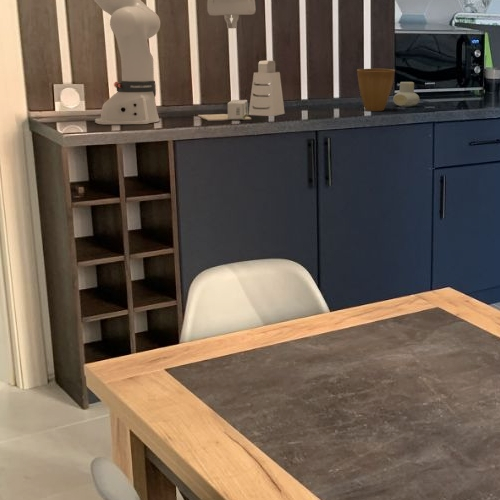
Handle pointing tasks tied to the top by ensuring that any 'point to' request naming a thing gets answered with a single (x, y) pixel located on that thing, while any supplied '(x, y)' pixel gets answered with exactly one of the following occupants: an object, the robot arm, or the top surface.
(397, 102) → the pipe tee fitting
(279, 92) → the grater
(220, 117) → the mat
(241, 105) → the syrup box
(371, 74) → the plant pot
